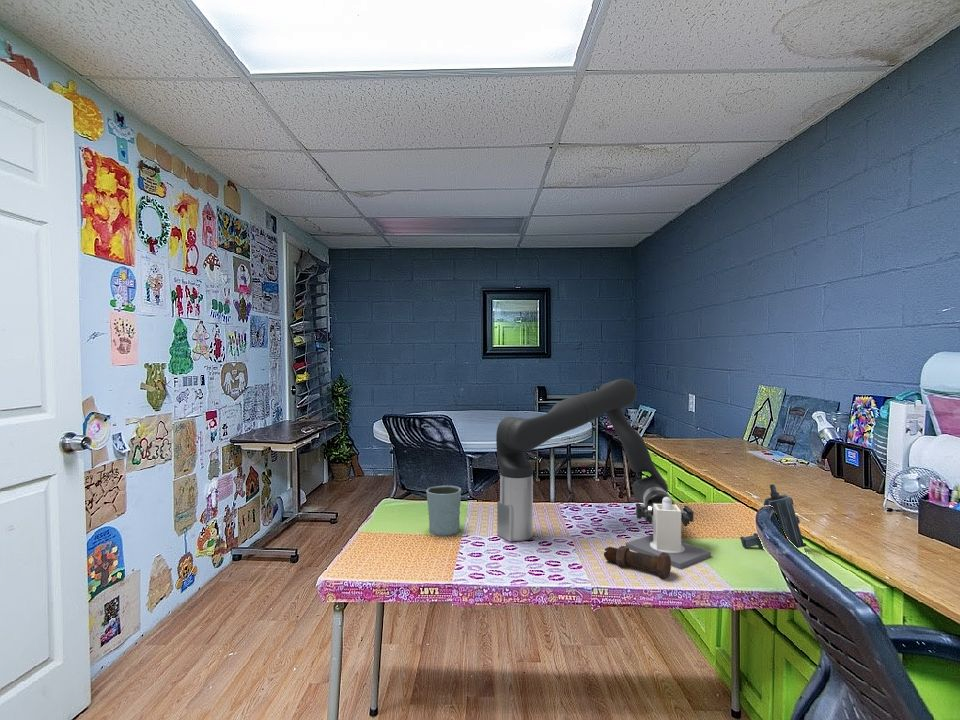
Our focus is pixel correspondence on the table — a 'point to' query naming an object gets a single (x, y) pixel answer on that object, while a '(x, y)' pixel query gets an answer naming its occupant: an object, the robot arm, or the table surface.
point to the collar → (667, 528)
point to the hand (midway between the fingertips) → (668, 521)
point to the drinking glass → (444, 509)
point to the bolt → (640, 560)
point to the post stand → (678, 558)
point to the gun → (780, 520)
